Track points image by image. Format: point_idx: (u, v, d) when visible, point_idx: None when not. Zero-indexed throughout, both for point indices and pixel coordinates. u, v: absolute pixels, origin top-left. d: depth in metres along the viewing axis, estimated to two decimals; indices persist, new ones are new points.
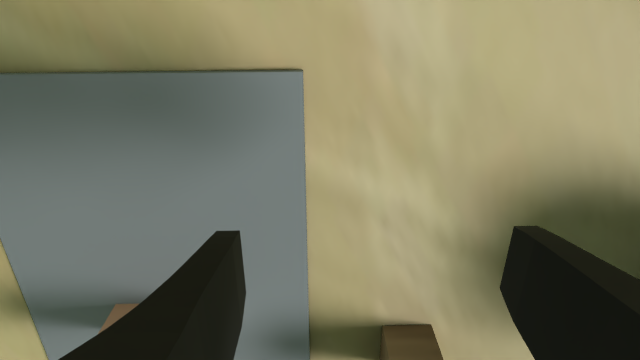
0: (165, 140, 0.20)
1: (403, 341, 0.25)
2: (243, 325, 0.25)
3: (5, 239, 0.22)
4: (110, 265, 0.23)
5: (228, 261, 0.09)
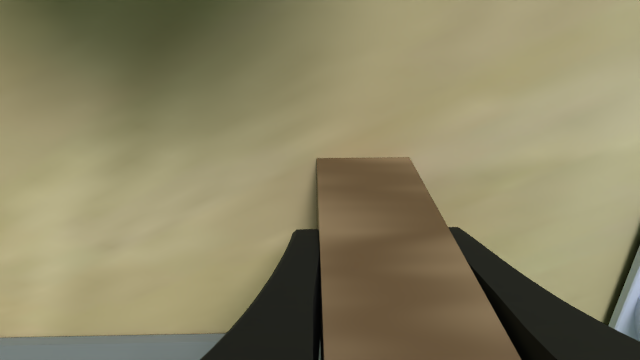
0: None
1: None
2: None
3: None
4: None
5: (319, 260, 0.09)
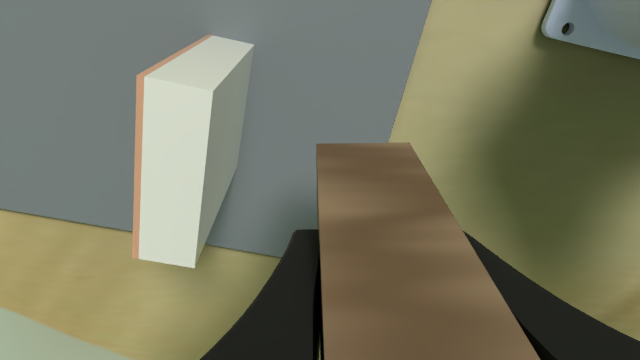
0: None
1: None
2: (253, 16, 0.18)
3: (103, 222, 0.22)
4: None
5: (319, 260, 0.09)
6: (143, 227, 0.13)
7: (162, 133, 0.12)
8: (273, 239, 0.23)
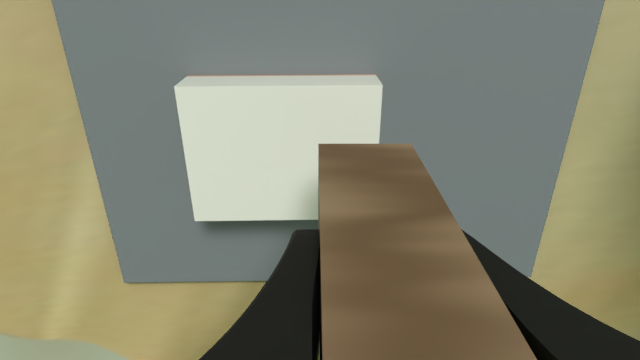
0: (152, 111, 0.18)
1: (318, 216, 0.13)
2: (422, 46, 0.18)
3: None
4: None
5: (319, 260, 0.09)
6: None
7: None
8: None
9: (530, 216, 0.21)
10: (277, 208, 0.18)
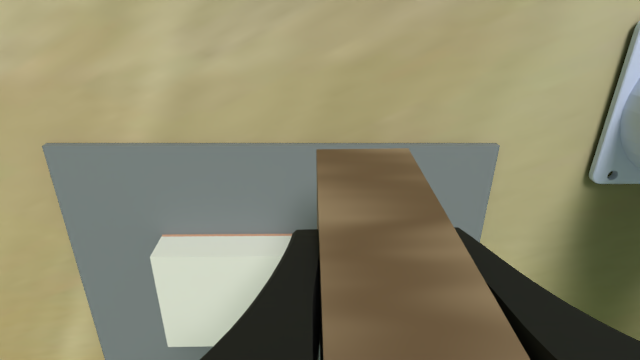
0: (134, 258, 0.23)
1: None
2: None
3: None
4: None
5: None
6: None
7: None
8: None
9: None
10: None
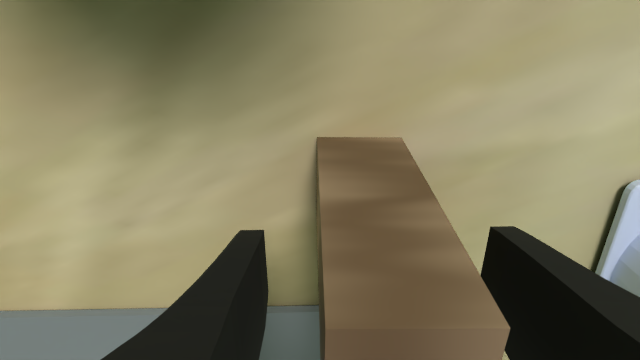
0: None
1: None
2: None
3: None
4: None
5: (255, 260, 0.09)
6: None
7: None
8: None
9: None
10: None
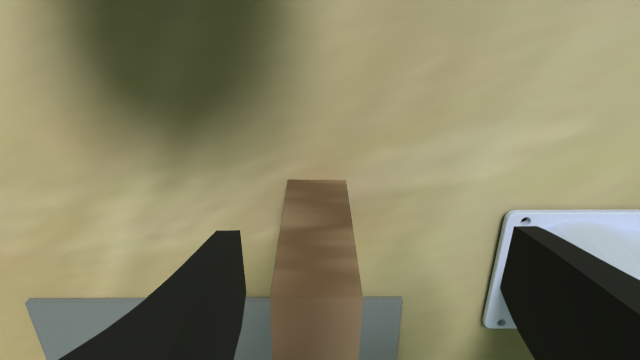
0: None
1: None
2: None
3: None
4: None
5: (228, 261, 0.09)
6: None
7: None
8: None
9: None
10: None
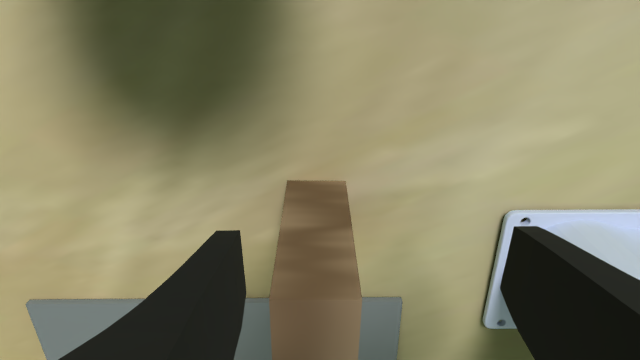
0: None
1: None
2: None
3: None
4: None
5: (228, 261, 0.09)
6: None
7: None
8: None
9: None
10: None
